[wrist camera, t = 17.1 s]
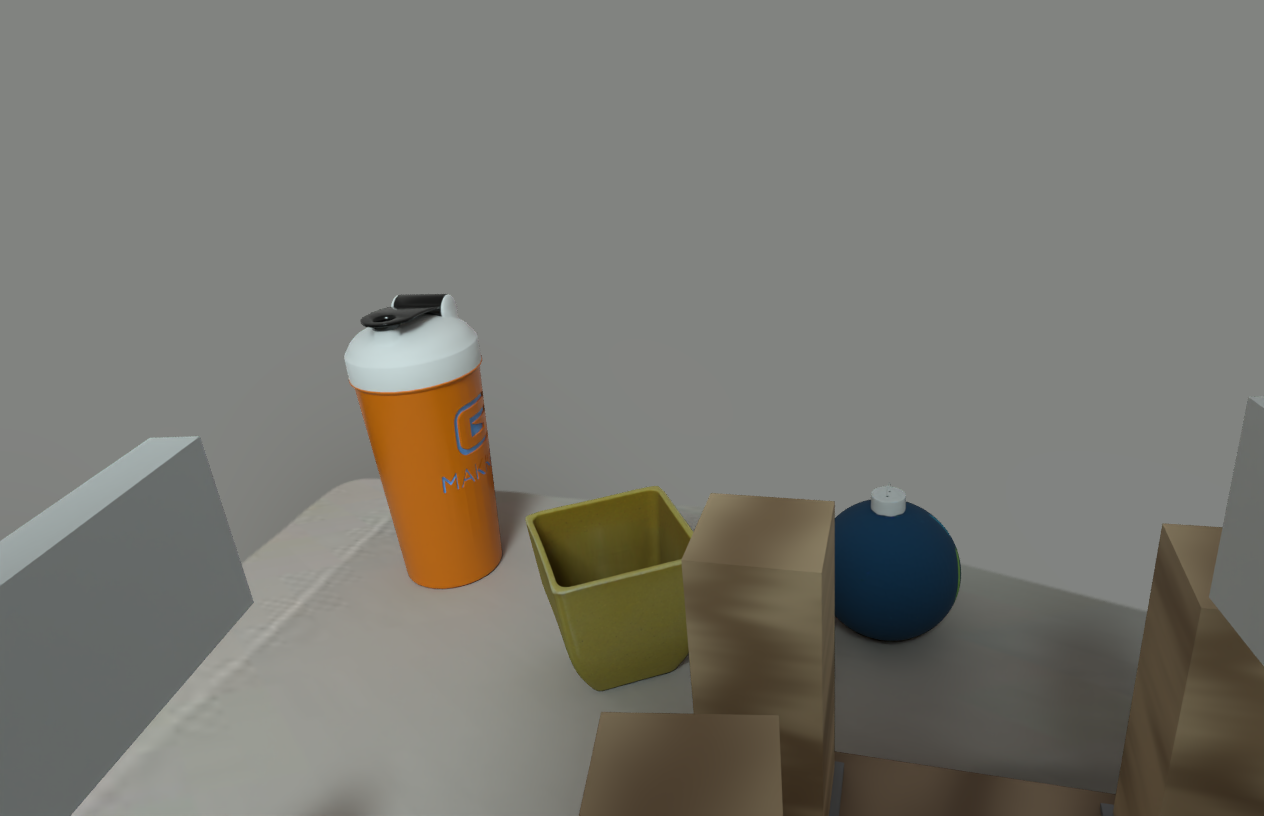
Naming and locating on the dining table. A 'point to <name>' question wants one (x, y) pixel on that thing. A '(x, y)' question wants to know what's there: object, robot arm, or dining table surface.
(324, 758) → the dining table surface
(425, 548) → the shaker bottle
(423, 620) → the dining table surface
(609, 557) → the flower pot
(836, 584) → the christmas ornament
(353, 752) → the dining table surface
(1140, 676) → the tan post-studded fixture
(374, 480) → the dining table surface
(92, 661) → the robot arm
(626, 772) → the stool leg
